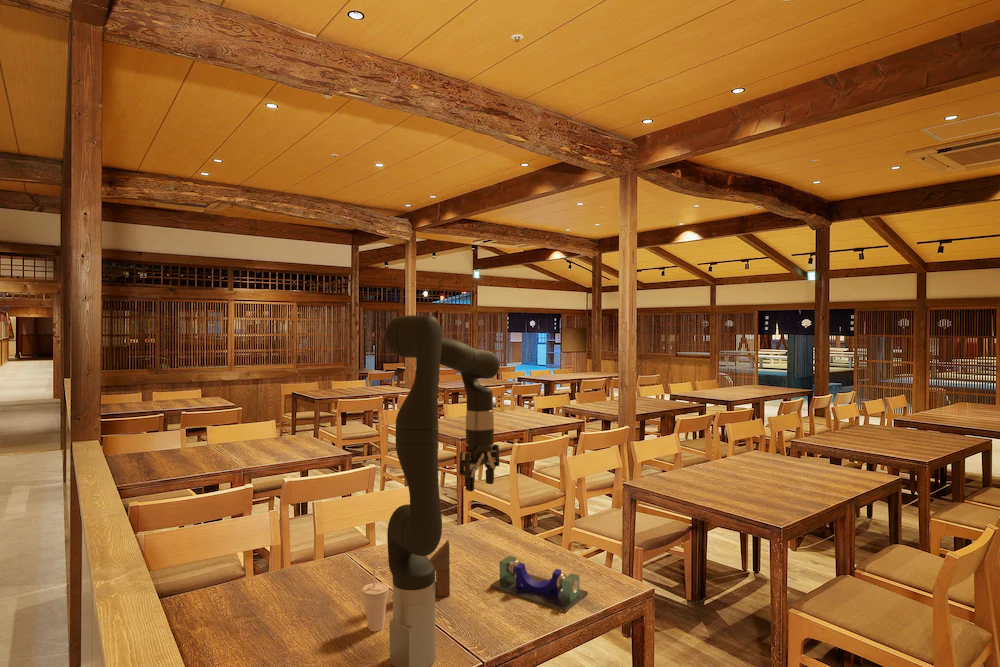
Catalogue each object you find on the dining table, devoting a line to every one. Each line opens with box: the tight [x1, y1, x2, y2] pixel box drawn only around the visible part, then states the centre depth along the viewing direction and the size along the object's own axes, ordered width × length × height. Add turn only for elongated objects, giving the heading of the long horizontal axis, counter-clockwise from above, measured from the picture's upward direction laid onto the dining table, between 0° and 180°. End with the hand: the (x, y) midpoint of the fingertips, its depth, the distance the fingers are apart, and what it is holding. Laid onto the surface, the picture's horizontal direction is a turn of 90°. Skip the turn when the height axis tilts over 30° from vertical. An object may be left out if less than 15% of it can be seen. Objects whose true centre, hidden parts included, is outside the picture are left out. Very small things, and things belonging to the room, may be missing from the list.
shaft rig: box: [490, 555, 589, 613], centre depth 154 cm, size 12×24×6 cm, turn 54°
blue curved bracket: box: [516, 562, 562, 596], centre depth 154 cm, size 12×4×6 cm, turn 68°
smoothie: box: [361, 568, 390, 633], centre depth 136 cm, size 6×6×14 cm
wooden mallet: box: [428, 539, 451, 598], centre depth 152 cm, size 4×11×18 cm, turn 99°
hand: (480, 487), depth 150 cm, fingers open, 8 cm apart
